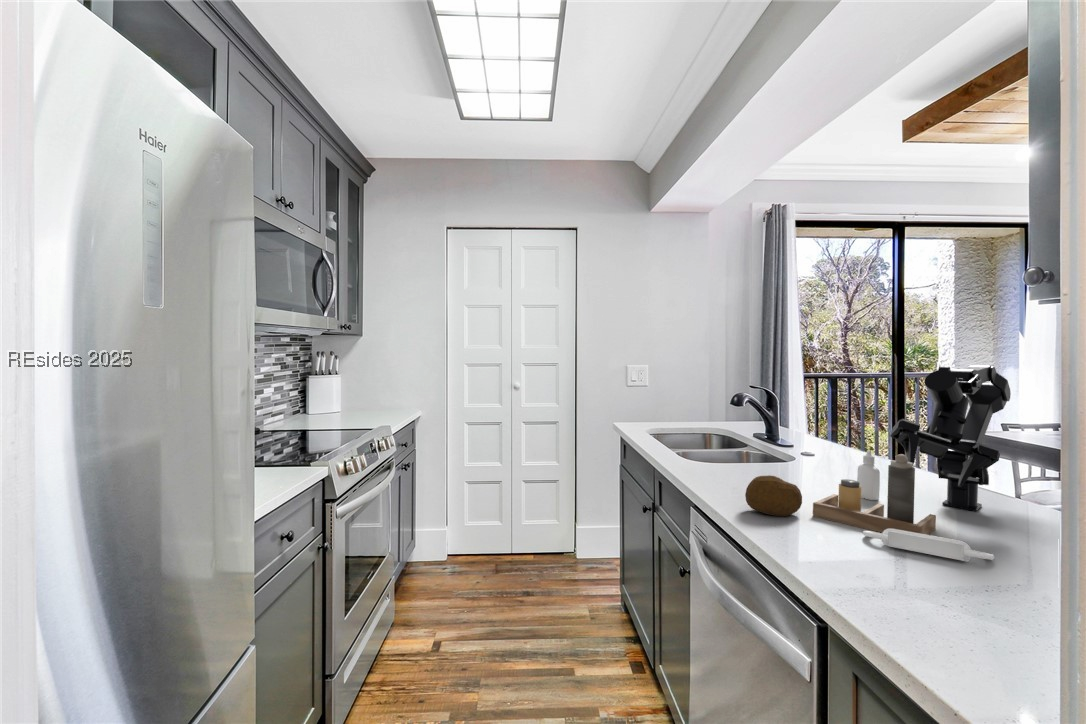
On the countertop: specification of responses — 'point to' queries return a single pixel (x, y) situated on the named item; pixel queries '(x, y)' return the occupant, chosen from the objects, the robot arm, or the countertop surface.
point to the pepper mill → (901, 489)
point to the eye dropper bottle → (869, 478)
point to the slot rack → (869, 517)
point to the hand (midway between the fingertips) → (934, 477)
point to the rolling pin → (928, 544)
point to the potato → (773, 496)
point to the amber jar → (850, 495)
